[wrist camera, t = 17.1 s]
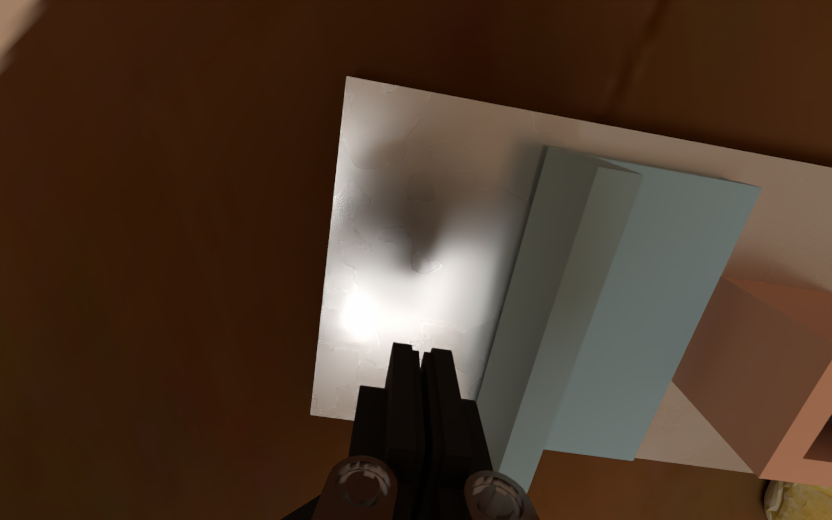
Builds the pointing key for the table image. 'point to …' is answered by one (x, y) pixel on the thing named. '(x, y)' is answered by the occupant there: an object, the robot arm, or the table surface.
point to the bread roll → (797, 501)
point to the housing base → (509, 238)
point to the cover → (602, 305)
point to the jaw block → (765, 377)
